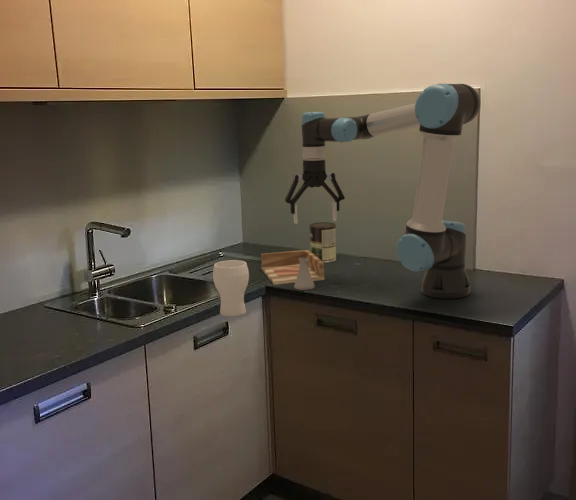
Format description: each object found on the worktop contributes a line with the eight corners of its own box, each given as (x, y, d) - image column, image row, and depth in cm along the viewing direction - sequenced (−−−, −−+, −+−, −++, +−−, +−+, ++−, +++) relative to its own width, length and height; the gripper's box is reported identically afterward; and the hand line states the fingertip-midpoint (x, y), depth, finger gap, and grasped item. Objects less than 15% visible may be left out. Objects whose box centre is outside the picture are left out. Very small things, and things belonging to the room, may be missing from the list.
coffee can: (309, 262, 256) (308, 227, 253) (311, 256, 266) (310, 222, 263) (335, 262, 254) (334, 226, 251) (337, 256, 264) (336, 222, 261)
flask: (315, 284, 225) (315, 256, 223) (314, 290, 218) (313, 261, 216) (294, 284, 226) (293, 256, 224) (292, 290, 219) (291, 261, 217)
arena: (324, 279, 231) (324, 262, 229) (273, 284, 227) (273, 267, 225) (308, 265, 252) (307, 249, 250) (261, 269, 248) (261, 253, 246)
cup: (228, 305, 205) (225, 258, 202) (257, 309, 200) (255, 261, 197) (208, 315, 196) (204, 266, 193) (237, 320, 191) (235, 269, 188)
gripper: (347, 156, 226) (347, 217, 231) (275, 160, 222) (277, 222, 227) (353, 158, 219) (353, 221, 224) (279, 161, 215) (281, 226, 219)
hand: (315, 222), depth 225 cm, fingers open, 13 cm apart
